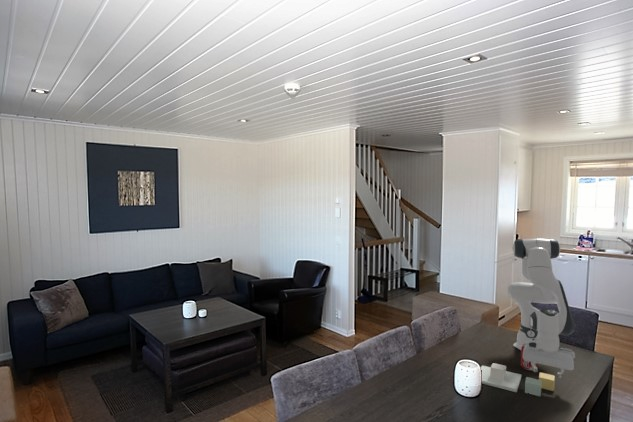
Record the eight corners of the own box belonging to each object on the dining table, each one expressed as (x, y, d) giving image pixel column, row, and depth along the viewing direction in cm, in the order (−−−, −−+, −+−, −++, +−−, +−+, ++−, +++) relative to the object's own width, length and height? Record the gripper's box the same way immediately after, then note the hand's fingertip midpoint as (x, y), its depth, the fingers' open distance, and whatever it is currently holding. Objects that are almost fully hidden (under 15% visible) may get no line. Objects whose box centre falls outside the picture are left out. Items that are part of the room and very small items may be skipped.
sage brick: (526, 387, 173) (526, 376, 173) (541, 391, 170) (541, 380, 170) (524, 392, 168) (525, 382, 168) (540, 396, 165) (540, 385, 165)
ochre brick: (539, 382, 178) (539, 372, 178) (554, 386, 175) (554, 375, 175) (538, 387, 173) (538, 377, 173) (553, 391, 170) (554, 380, 170)
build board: (482, 367, 193) (482, 355, 193) (521, 377, 183) (521, 364, 183) (474, 381, 179) (474, 368, 178) (516, 392, 168) (517, 378, 168)
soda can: (538, 372, 189) (539, 348, 188) (523, 370, 190) (523, 347, 190) (533, 366, 196) (534, 343, 195) (518, 364, 197) (519, 342, 197)
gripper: (575, 347, 170) (574, 377, 170) (523, 338, 181) (523, 366, 181) (575, 352, 164) (574, 383, 165) (522, 341, 176) (521, 371, 176)
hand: (547, 374), depth 173 cm, fingers open, 8 cm apart
